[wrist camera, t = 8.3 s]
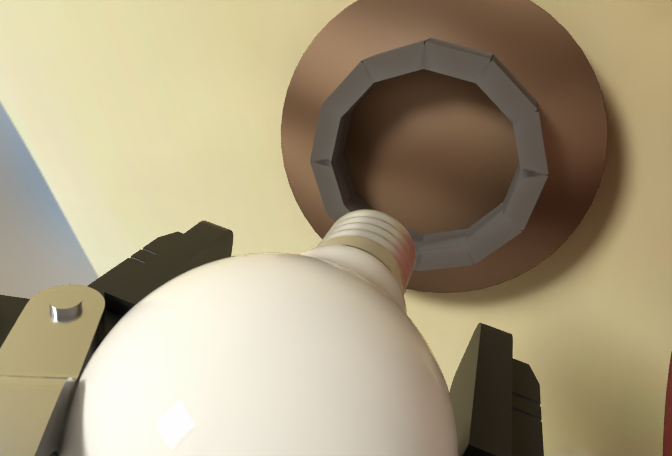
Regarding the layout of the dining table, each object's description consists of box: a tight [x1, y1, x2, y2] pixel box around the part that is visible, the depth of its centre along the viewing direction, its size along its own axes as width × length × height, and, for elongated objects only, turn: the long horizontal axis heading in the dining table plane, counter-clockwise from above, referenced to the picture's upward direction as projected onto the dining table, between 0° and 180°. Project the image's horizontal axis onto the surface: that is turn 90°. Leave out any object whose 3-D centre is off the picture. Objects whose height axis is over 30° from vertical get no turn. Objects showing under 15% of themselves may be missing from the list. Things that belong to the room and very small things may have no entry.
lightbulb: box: [59, 209, 459, 456], centre depth 11 cm, size 6×6×11 cm
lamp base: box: [281, 0, 607, 293], centre depth 23 cm, size 15×15×4 cm
